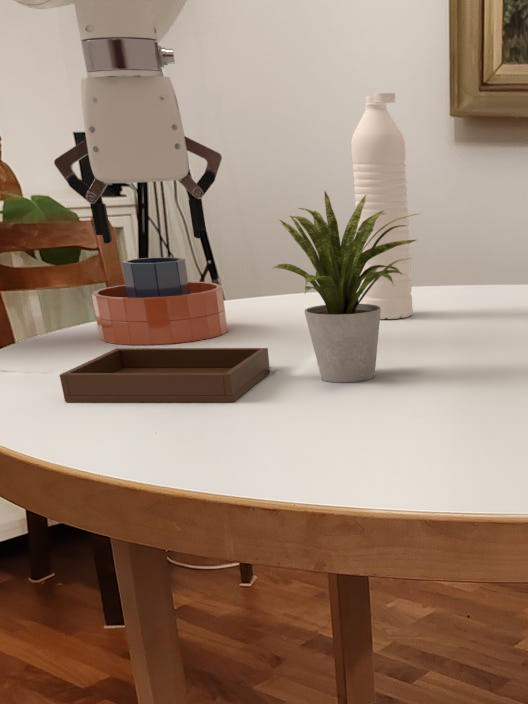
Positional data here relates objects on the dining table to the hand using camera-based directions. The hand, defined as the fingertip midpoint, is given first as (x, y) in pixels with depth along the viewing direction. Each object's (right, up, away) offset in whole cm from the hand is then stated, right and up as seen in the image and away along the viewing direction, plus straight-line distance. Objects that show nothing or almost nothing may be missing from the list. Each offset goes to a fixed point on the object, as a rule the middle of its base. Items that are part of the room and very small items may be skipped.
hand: (153, 239), depth 110 cm
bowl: (0, -10, +5) cm, 11 cm away
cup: (0, -9, +5) cm, 10 cm away
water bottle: (+25, -3, +16) cm, 30 cm away
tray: (+8, -21, -18) cm, 29 cm away
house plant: (+24, -20, -17) cm, 36 cm away
